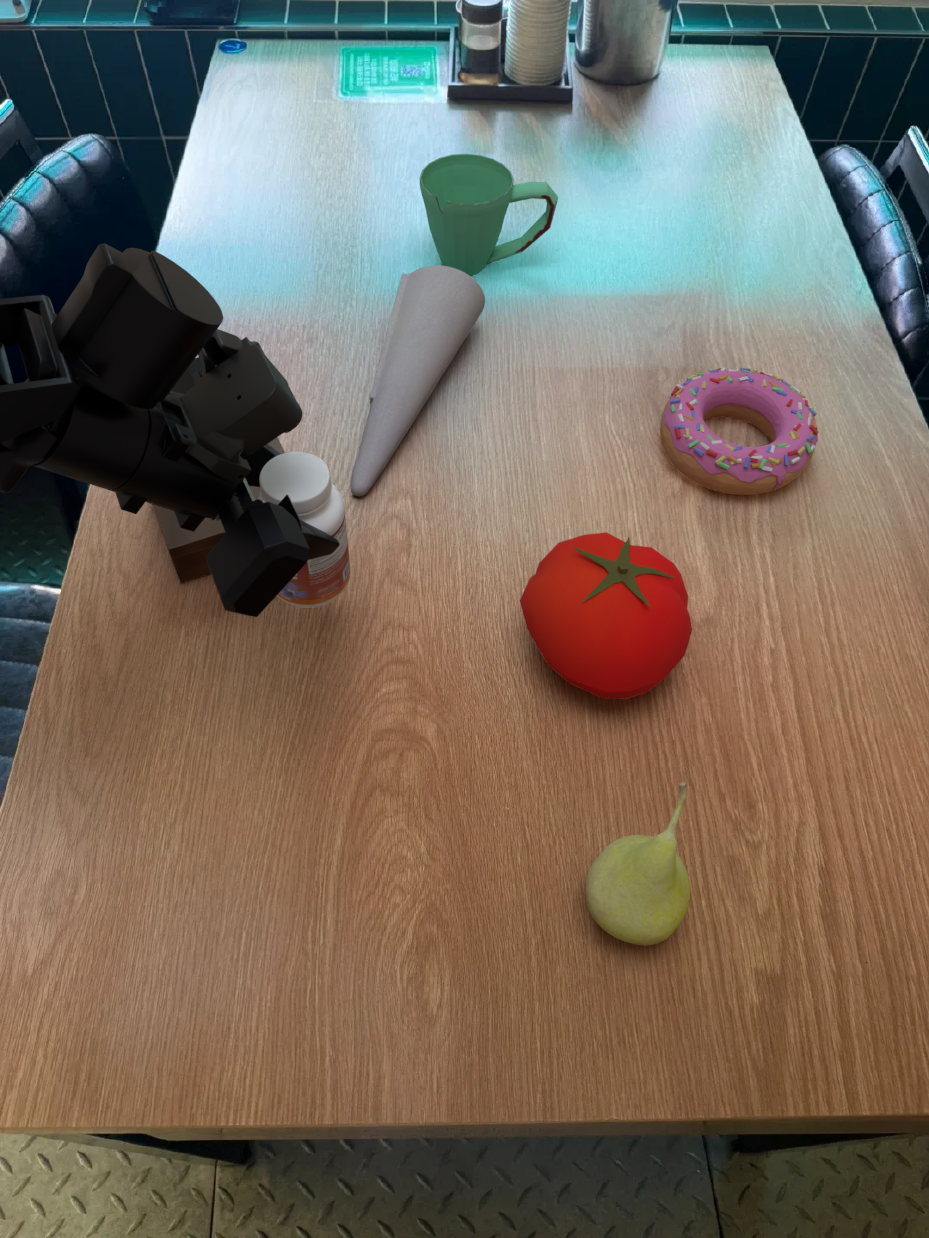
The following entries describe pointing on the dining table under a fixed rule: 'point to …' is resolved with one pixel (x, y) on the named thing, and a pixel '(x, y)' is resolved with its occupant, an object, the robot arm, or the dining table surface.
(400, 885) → the dining table surface
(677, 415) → the donut
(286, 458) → the pill bottle
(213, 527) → the dark wooden box
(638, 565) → the tomato
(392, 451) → the grey tapered cone
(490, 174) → the mug
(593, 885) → the fruit
